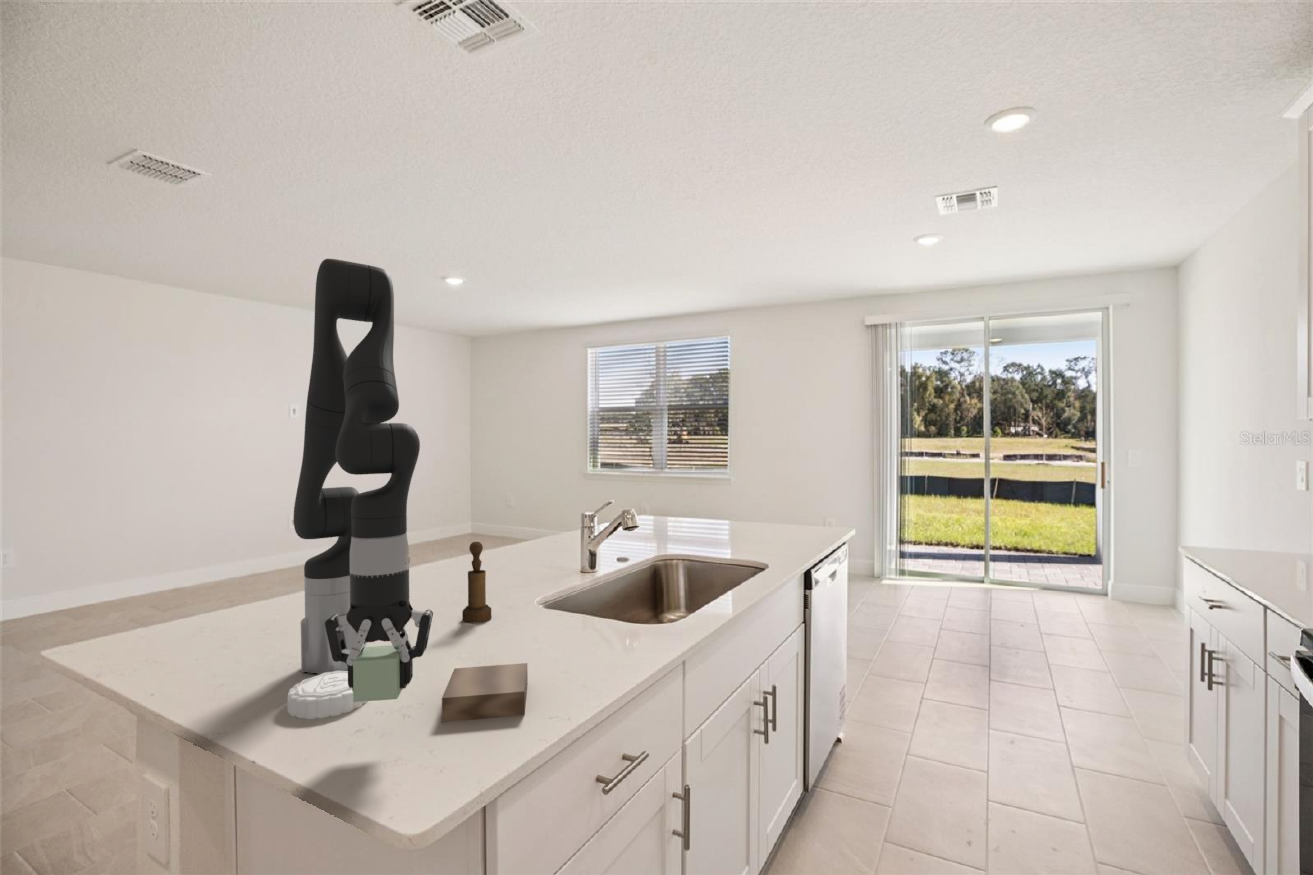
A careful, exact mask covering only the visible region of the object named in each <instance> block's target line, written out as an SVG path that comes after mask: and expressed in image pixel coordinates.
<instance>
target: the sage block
mask: <svg viewBox="0 0 1313 875" xmlns="http://www.w3.org/2000/svg"><path fill="white" fill-rule="evenodd" d="M400 662H401V659H400V657H399V655H398V652H397V650H396V649H394V647H393V645H392V644H390V645H376V646H374V645H373V646H365V648H364V650H363V652H361V653H360V655H359V656H358V657H356V659H355V660H354V661H353V699H354V702H363V701H368V702H373V701H389V700H397V699H398V698H399V696H400V694H401V693H402V692H403V689H400Z"/></svg>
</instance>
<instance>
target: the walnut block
mask: <svg viewBox="0 0 1313 875" xmlns="http://www.w3.org/2000/svg"><path fill="white" fill-rule="evenodd" d="M528 678H529V677H528V663H527V662H523V663H513V664H512V663H509V664H496V665H486V666H485V665H483V666H469V667H456V668H454V669H453V671H452V673H451V675H450V677H449V680H448V683H447V686H446V688H445V690H444V693H443V695H442V697H441V716H442V718H441V723H450V722H451V723H452V722H461V721H462V722H463V721H472V720H473V721H474V720H475V721H476V720H484V719H495V718H508V717H517V716H525V715H526V704H527V694H528V682H529V681H528V680H529V679H528Z"/></svg>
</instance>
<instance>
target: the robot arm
mask: <svg viewBox="0 0 1313 875" xmlns="http://www.w3.org/2000/svg"><path fill="white" fill-rule="evenodd" d="M314 292H315V293H314V294H315V296H314V298H315V299H314V324H313V327H314V328H313V349H312V350H313V351H312V359H311V361H312V362H311V369H310V375H309V383H308V389H307V396H306V408H305V420H304V436H303V439H304V440H303V452H302V461H301V466H300V467H301V468H300V472H299V478H298V483H297V490H296V494H295V501H294V506H293V526H294V531H295V533H296V535H297V536H298V537H299V538H301V539H303V540H320V539H329V538H337V540H336V542H335V543H334V544H333V545H332V546H331V547H329V548H328V549H326V550H325V551H323V552H320V553H319V554H317V555H314V556H312V557H310V558H308V559H307V560H306V561H305V563H304V564H303V574H304V575H303V576H304V617H303V618H302V619H301V620H300V653H301V654H300V661H301V662H300V663H301V665H300V668H301V669H300V670H301V672H302V674H303V672H308V674H312V673H317V674H316V675H320V674H323V673H325V672H334V671H337V670H338V671H348V686H349V688H352V690H353V661H354V660H355V659H356V657H358V656H359V655H360V653H361V652H363V650H364V648H365V647H367V646H366V645H367V644H368V643H374V642H376V641H381V642H391V645H393V647H394V649H396V650H397V652H398V655H399V657H400V659H401V662H400V689H402V690H404V689H406V688H407V686H408V685H409V684H410V683H411V681H412V679H413V676H414V674H413V670H414V667H413V666H414V665H413V663H414V662H413V659H416V658H421V657H422V656H423V655H424V653H425V651H426V650H427V646H428V643H429V638H430V632H431V626H432V621H433V616H434V612H433V611H432V609H426V610H425V611H423V610H416V609H414V607H412V605H411V603H410V563H411V558H410V551H409V550H410V548H409V542H408V533H407V532H408V529H407V528H408V526H407V524H408V523H407V521H408V516H407V514H408V513H407V509H408V508H407V507H408V506H407V505H408V496H409V491H410V486H411V482H412V478H413V475H414V471H415V468H416V465H417V462H418V459H419V454H420V449H421V443H420V437H419V435H418V433H417V430H415V429H414V428H413V427H412V425H410V424H408V423H402V422H401V423H400V422H397V423H395V422H389V423H388V421H390V420H392V419H393V418H394V417H396V415H397V414H398V412H399V410H400V409H399V408H400V401H399V400H400V398H399V394H398V388H397V387H398V386H397V380H396V375H395V367H394V344H395V343H394V340H395V339H394V338H395V337H394V336H395V314H394V313H395V296H394V295H395V294H394V293H395V292H394V286H393V281H392V278H391V276H390V274H389V272H388V271H387V270H386V269H384V268H382V267H378V266H375V265H369V264H366V263H365V264H364V263H358V262H353V261H349V260H342V259H341V260H340V259H336V258H326V259H325V258H324V260H322V261H321V263H320V264H319V267H318V270H317V274H316V281H315V291H314ZM338 319H341V320H348V321H349V320H350V321H355V322H356V321H358V322H365V323H371V328H370V330H369V331H368V332H367V334H366V335H365V336H364V338H363V339H362V340H361V341H360V342H359V343H358V344H357V345H356V346H355V347H354V349H353V350H352V351H351V352H350V354H349V355H347V352H346V350H345V348H344V346H343V344H342V342H341V339H340V336H339V334H338V328H337V323H338ZM336 464H338V466H339V467H340V468H341V469H342V470H343V472H346V473H347V474H349V475H356V476H357V475H358V476H359V475H378V474H379V475H384V474H390V478H389V480H388V481H387V483H386V484H384V485H383V486H381V487H378V488H375V489H373V490H372V489H371V490H367V491H364V492H361V493H360V492H359V491H358V490H357V489H356V488H355V487H352V486H340V487H339V486H338V487H323V486H324V484H325V481H326V478H327V477H328V475H329V473H330V472H331V470H332V469H333V467H334V466H335V465H336ZM410 619H412V620H413V622H414V626H415V627H416V628H418V632H417V636H416V640H415V645H414V646H412V645H411V642H410V640H409V635H408V633H407V630H406V628H405V626H406V625H407V624H408V622H409V621H410Z"/></svg>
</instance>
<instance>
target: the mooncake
mask: <svg viewBox="0 0 1313 875" xmlns="http://www.w3.org/2000/svg"><path fill="white" fill-rule="evenodd" d="M368 702H369V701H363V702H354V699H353V690H352V688H349V686H348V670H345V671H338V670H337V671H334V672H325V673H323V674H317V675H315V676H312V677H308V678H305V679H302V681H300V682H298V683H296V684H294V685H293V686H292V687H291V688H290V689H289V690H288V694H287V713H288V714H290V716H291V717H296V718H297V719H307V720H314V719H326V718H328V717H336V716H340V715H342V714H346V713H347V714H348V713H349V712H352V711H353V710H355V709H359V708H361V707H362V706H363V705H366V704H367V703H368Z"/></svg>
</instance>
